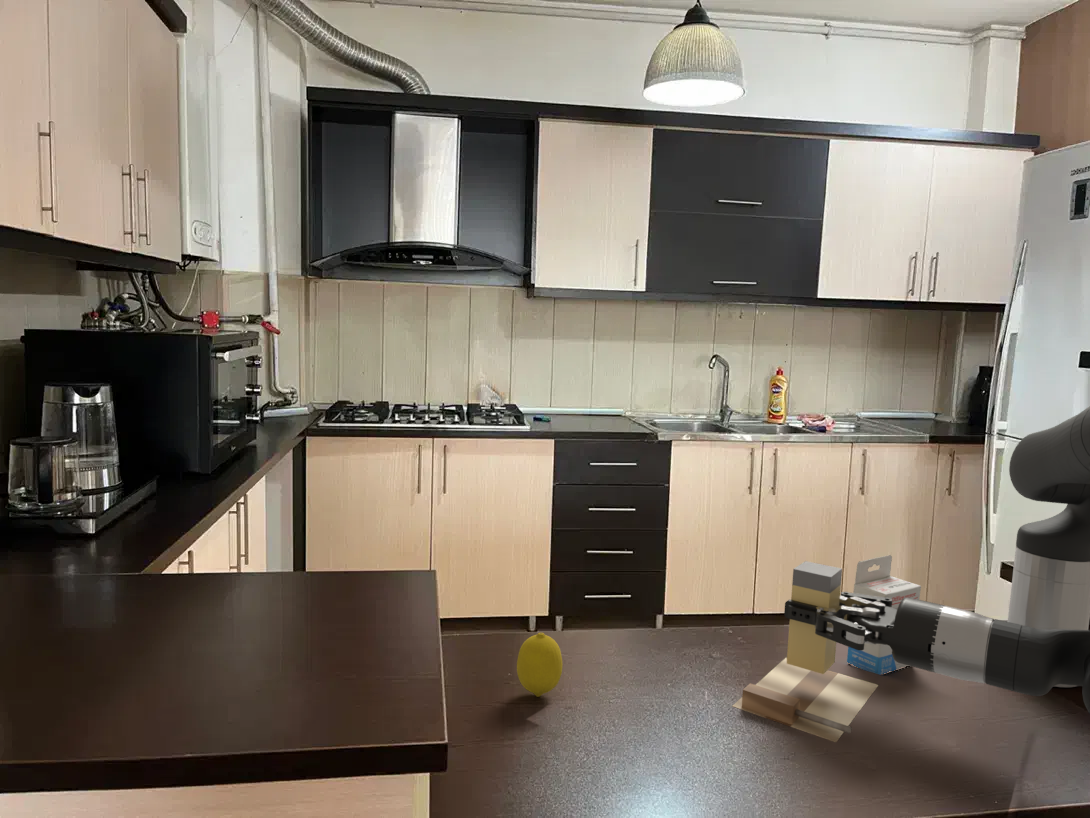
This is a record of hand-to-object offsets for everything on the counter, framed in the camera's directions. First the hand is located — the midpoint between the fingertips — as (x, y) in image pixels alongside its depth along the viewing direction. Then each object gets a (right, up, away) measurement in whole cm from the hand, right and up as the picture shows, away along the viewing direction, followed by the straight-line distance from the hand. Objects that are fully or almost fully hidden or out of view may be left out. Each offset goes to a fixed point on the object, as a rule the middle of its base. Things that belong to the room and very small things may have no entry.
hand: (793, 602), depth 96 cm
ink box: (+15, -12, +11) cm, 22 cm away
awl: (-3, -11, -8) cm, 14 cm away
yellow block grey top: (+2, -7, -1) cm, 8 cm away
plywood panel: (+1, -12, -2) cm, 12 cm away
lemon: (-32, -11, -3) cm, 34 cm away
